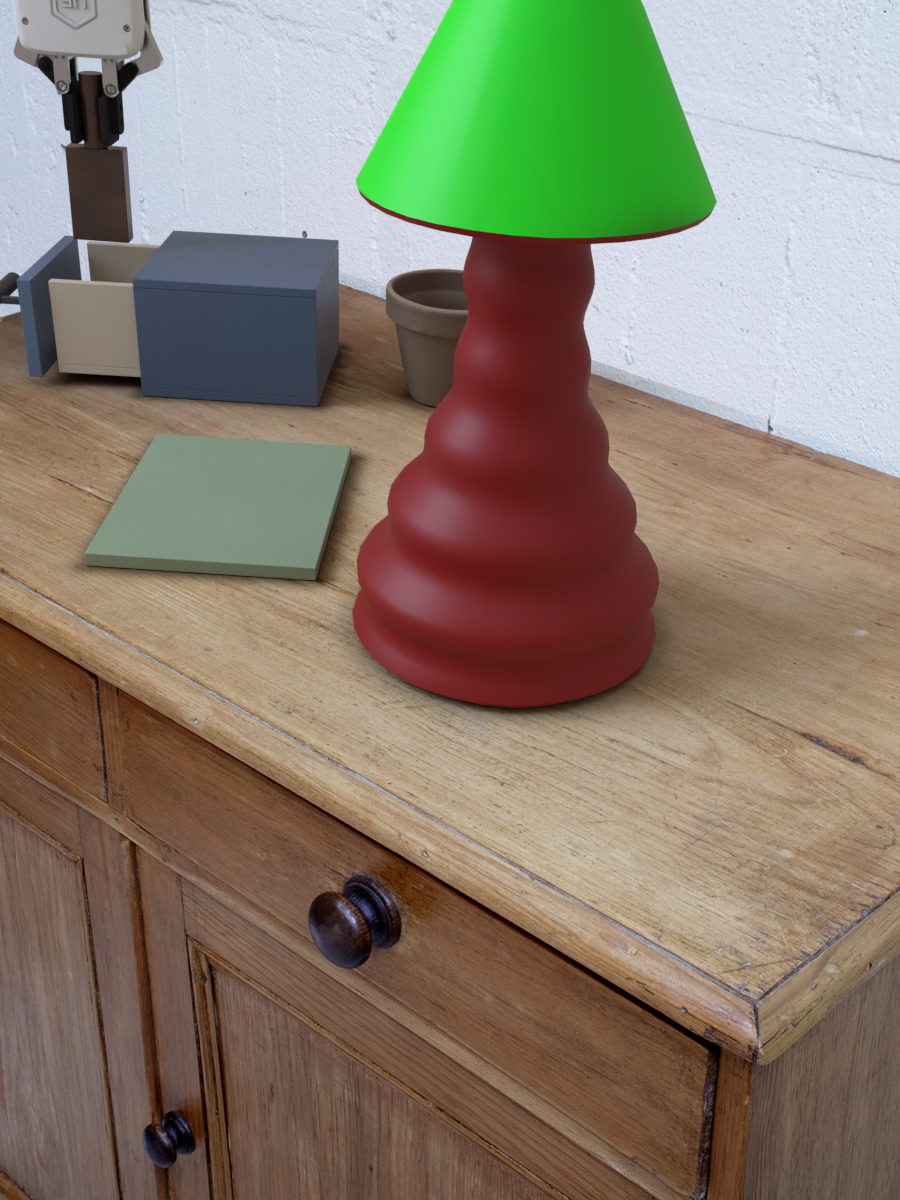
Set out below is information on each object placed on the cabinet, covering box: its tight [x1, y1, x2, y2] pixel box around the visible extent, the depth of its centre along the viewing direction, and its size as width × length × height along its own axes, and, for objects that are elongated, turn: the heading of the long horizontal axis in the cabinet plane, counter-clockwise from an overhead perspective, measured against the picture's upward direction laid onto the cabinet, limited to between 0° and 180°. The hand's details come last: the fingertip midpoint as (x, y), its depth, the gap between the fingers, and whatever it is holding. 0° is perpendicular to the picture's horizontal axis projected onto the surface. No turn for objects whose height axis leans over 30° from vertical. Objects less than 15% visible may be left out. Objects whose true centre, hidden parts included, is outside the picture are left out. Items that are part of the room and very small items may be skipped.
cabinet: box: [132, 230, 340, 407], centre depth 119 cm, size 16×15×11 cm
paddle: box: [64, 70, 134, 244], centre depth 114 cm, size 5×2×14 cm, turn 87°
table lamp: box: [351, 0, 718, 709], centre depth 75 cm, size 20×20×45 cm
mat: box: [84, 433, 352, 581], centre depth 99 cm, size 16×20×1 cm
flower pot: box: [385, 268, 468, 408], centre depth 116 cm, size 12×11×10 cm
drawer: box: [0, 235, 162, 378], centre depth 120 cm, size 19×13×9 cm
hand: (95, 139), depth 113 cm, fingers closed on paddle, 2 cm apart
